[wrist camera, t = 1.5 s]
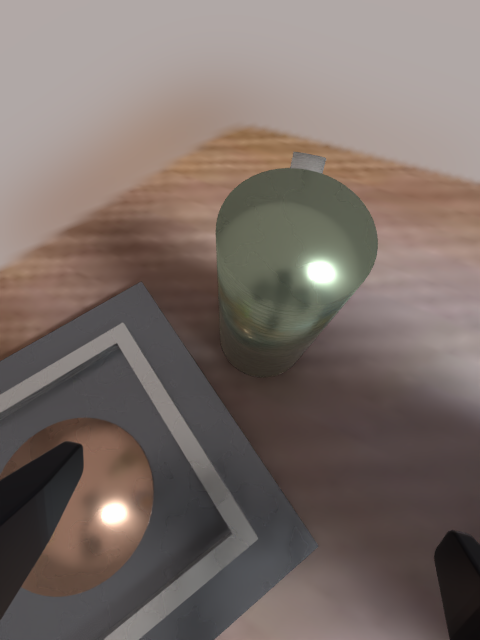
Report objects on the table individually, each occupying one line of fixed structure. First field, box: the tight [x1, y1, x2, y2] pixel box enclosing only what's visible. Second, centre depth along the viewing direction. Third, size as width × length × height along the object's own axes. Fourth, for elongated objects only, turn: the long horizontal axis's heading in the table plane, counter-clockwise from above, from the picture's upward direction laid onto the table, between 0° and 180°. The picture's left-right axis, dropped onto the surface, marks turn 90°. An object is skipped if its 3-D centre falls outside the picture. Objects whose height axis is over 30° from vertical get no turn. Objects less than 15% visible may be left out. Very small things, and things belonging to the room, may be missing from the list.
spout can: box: [216, 152, 378, 377], centre depth 19 cm, size 8×6×13 cm
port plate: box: [0, 282, 318, 640], centre depth 19 cm, size 20×20×2 cm
